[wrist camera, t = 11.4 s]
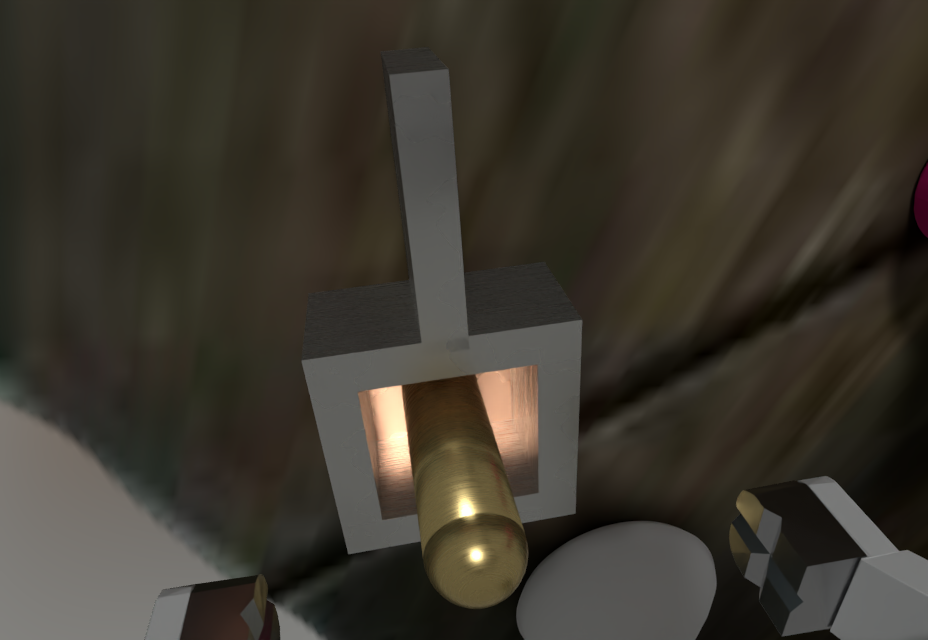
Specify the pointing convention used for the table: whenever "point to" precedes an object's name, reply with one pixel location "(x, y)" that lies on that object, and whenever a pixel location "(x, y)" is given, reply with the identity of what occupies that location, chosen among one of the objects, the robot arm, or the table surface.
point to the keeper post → (459, 483)
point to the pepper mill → (922, 202)
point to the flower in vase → (620, 586)
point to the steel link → (440, 338)
